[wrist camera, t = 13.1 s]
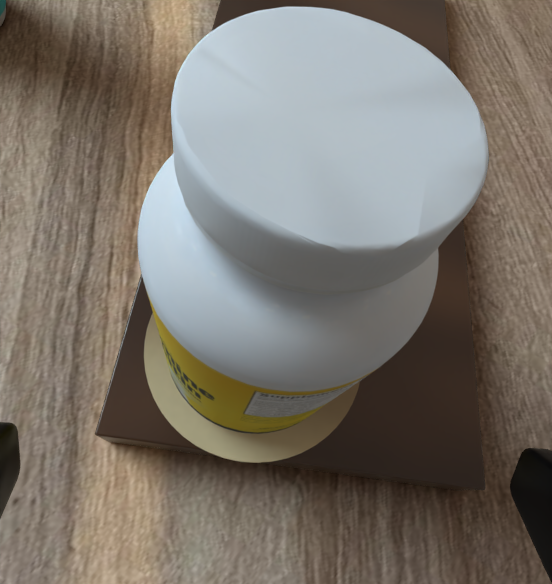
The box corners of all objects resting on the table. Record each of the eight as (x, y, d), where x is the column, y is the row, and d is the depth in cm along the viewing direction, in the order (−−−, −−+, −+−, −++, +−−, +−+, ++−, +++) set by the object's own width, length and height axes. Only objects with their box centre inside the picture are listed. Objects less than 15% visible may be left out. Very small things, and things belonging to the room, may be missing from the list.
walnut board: (457, 496, 17) (488, 496, 16) (104, 447, 16) (91, 440, 14) (428, -8, 32) (442, -39, 30) (242, -52, 31) (245, -87, 29)
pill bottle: (185, 262, 18) (158, -68, 7) (339, 287, 18) (517, 12, 8) (149, 426, 15) (19, 267, 4) (332, 449, 15) (593, 357, 5)
